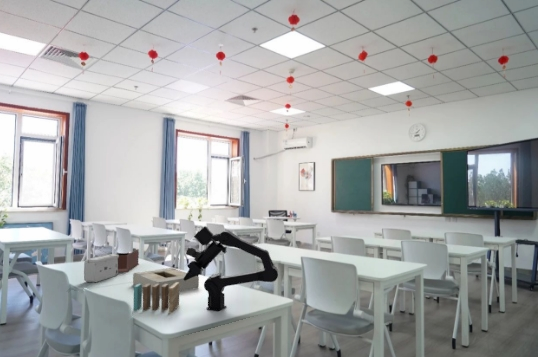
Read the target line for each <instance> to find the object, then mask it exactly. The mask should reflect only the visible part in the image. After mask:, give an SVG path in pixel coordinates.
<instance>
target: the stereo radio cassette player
mask: <svg viewBox="0 0 538 357" xmlns="http://www.w3.org/2000/svg"><path fill="white" fill-rule="evenodd" d="M96 250H99V251H100V252H102V253H104V254H105V255H100V256H95V257H91V258H86V259H85V260H84V261H83V263H84V264H83V281H85V283H97V282H100V281H104V280H106V279H111V278H113V277H117V276H118V258H119V255H115V254H116V253H115V254H111V253H107V252H106V251H104V250H102V249H100V248H97V247H96Z"/></svg>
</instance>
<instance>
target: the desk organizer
mask: <svg viewBox="0 0 538 357" xmlns="http://www.w3.org/2000/svg"><path fill="white" fill-rule="evenodd" d="M115 255H119V258H118V273H119V274H120V273H121V274H122V273H124V274H125V273H129V272H130V271H132V270H133V269H135V268H136V267H138V266H139V265H140V263H139V248H137V249H136V250H134V251H131V252H130V253H129V252H126V253H125V252H124V253H123V252H120V253H119V252H118V253H115ZM118 273H117V274H118Z"/></svg>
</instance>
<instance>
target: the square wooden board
mask: <svg viewBox="0 0 538 357" xmlns="http://www.w3.org/2000/svg"><path fill="white" fill-rule="evenodd" d="M179 306H180V292H179V282H176V283H174V284H173V285H172V286H171V287H170V288H169V307H168V313H174V311H175V310H176V309H177V308H178V307H179Z"/></svg>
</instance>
